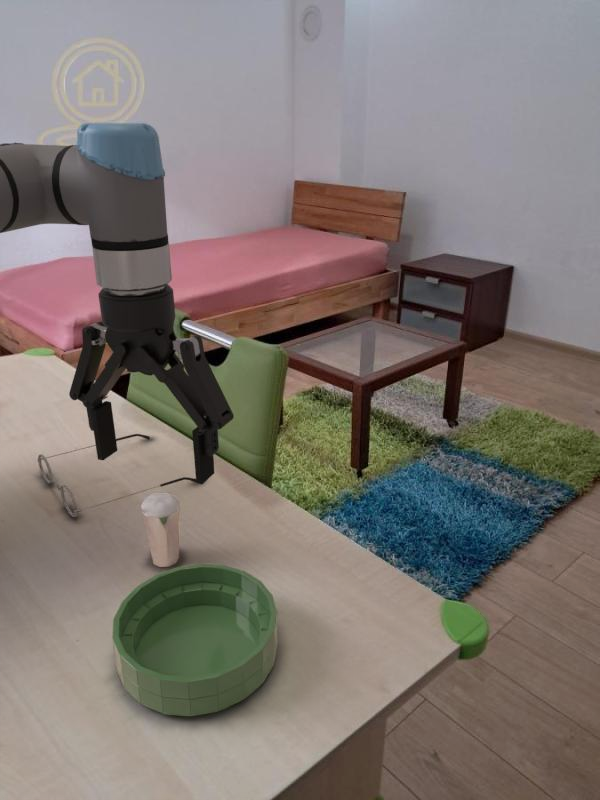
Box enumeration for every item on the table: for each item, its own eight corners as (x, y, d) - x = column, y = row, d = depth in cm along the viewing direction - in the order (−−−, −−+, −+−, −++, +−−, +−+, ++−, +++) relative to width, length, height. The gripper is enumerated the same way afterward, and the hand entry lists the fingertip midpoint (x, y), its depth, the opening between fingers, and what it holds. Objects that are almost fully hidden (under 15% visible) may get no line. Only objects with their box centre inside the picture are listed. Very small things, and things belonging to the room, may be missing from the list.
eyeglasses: (36, 471, 99) (33, 448, 97) (149, 441, 109) (147, 420, 108) (75, 526, 86) (72, 501, 84) (199, 486, 96) (198, 463, 95)
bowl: (83, 685, 62) (76, 647, 60) (176, 583, 75) (173, 549, 73) (229, 745, 56) (226, 705, 54) (300, 623, 70) (301, 587, 68)
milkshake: (134, 560, 79) (126, 492, 75) (172, 543, 82) (166, 477, 78) (152, 579, 76) (144, 509, 72) (190, 561, 79) (185, 493, 75)
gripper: (260, 289, 64) (265, 472, 72) (66, 268, 73) (91, 433, 81) (223, 308, 57) (233, 506, 66) (15, 283, 66) (48, 459, 75)
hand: (155, 466), depth 74 cm, fingers open, 13 cm apart
